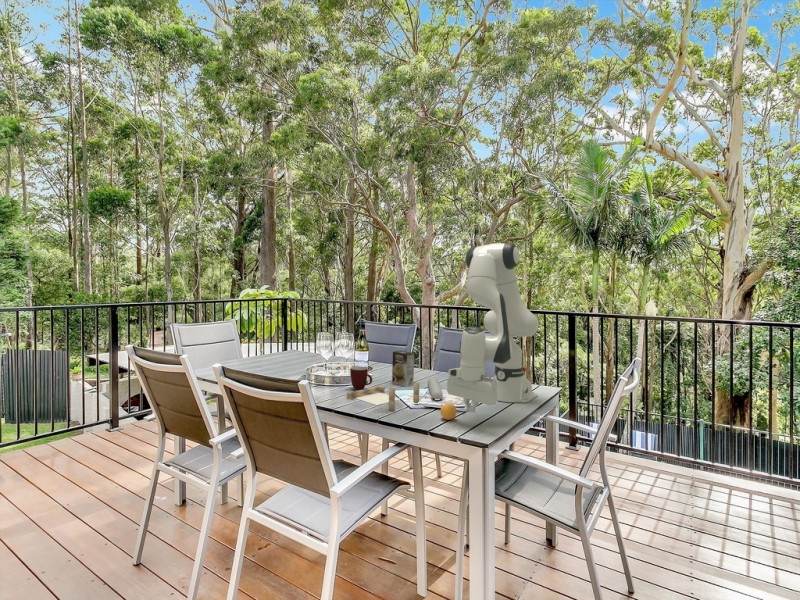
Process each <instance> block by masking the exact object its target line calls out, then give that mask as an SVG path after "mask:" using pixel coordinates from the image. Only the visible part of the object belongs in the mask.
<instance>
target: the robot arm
mask: <svg viewBox="0 0 800 600" xmlns="http://www.w3.org/2000/svg"><path fill="white" fill-rule="evenodd" d="M520 256H521V255H520V250H519V247H518V245H516V244H515V243H513V242H505V243H504V242H503V243H502V242H497V243H495V242H494V243H490V244H484V245H480V246H477V245H476V246H473V247H470V248H469V249H468V250H467V251H466V254H465V264H466V267H467V269H468V273H467V281H466V289H467V294H468V296H469V297H470V299H471V300H472V301H473V302H475V303H476V304H478V305H481V306H484V307H485V308H488V309H490V310H489V311H487V312H486V314H485V315H484V318H483V325H484V328H485V329H486V331H488V333H489V334H490V335H487V334H486V333H485V332H486V331H485V329H484V328H481V327H478V326H470V327H469V326H467V327H466V328H464V329H463V330H462V334H461V339H460V341H459V354H460V358H461V359H460V362H459V366H458V367H456V368H450V369H448V371H447V373H448V375H449V376H448V377H447V382H446V392H447V394H448V395H451V396H453V397H454V396H455V397H458V398H462V399H463V403H464V405H465V411H466V412H469V413H472V414H474V413H476V408H477V406H478V405H479V403H481V404H485V405H488V406H493V405H496V404H497V403H498V401H499V402H503V403H521V404H522V403H523V404H525V403H527V404H528V403H529V402H530V401H532V400H534V399H535V398H537V397H538V394H537V393H536V392H534V391H533V385H532V382H531V381H530V380H529V379H527V377H526V376H525V372H527V370H528V368H527V367H526V366H522V365H523V349H522V347H521V346H520V345H519V344H517V343H516V342H515V339H514V337H519V338H525V337H532V336H535V334H536V333H537V331H538V329H539V324H540V323H539V319H538V317H537V316H536V315H535V314H534V313H533V312H531V311H530V310H529V309H528V308H527V306H526V305H525V303H524V302H523V300H522V297H521V294H520V291H519V284H518V278H517V274H516V269H515V268H516V267H517V266H518V265H519V263H520V259H521V258H520ZM486 362H488V363H495V366H494V374H495V375H494V376H493V377H491V376H487V375H486ZM470 401H471V402H470ZM471 404H472V405H471Z"/></svg>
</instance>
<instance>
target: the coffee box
mask: <svg viewBox="0 0 800 600" xmlns="http://www.w3.org/2000/svg"><path fill="white" fill-rule="evenodd" d="M391 369H392V373H391V374H392V376H391V378H392V380H391V384H392V385H396V386H400V387H404V388H407V387H412V386H414V379H415V378H414V372H415V352H412V351H408V350H407V351H405V350H395V351H392V368H391ZM411 385H412V386H411Z"/></svg>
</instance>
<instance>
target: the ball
mask: <svg viewBox="0 0 800 600" xmlns="http://www.w3.org/2000/svg"><path fill="white" fill-rule="evenodd" d="M440 415H441V417H442V418H443V419H445V420H447V421H448V420H449V421H450V420H453V419H454V418H455V417H456V416H457V407H456V406H455V404H452V403H449V402H448V403H444V404H443V405H442V406H441V408H440Z"/></svg>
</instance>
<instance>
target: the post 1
mask: <svg viewBox="0 0 800 600" xmlns="http://www.w3.org/2000/svg"><path fill="white" fill-rule="evenodd" d="M388 395H389V403H388V411H389V412H395V411H396V401H395V397H396V387H393V386H391V387H389V388H388Z"/></svg>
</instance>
